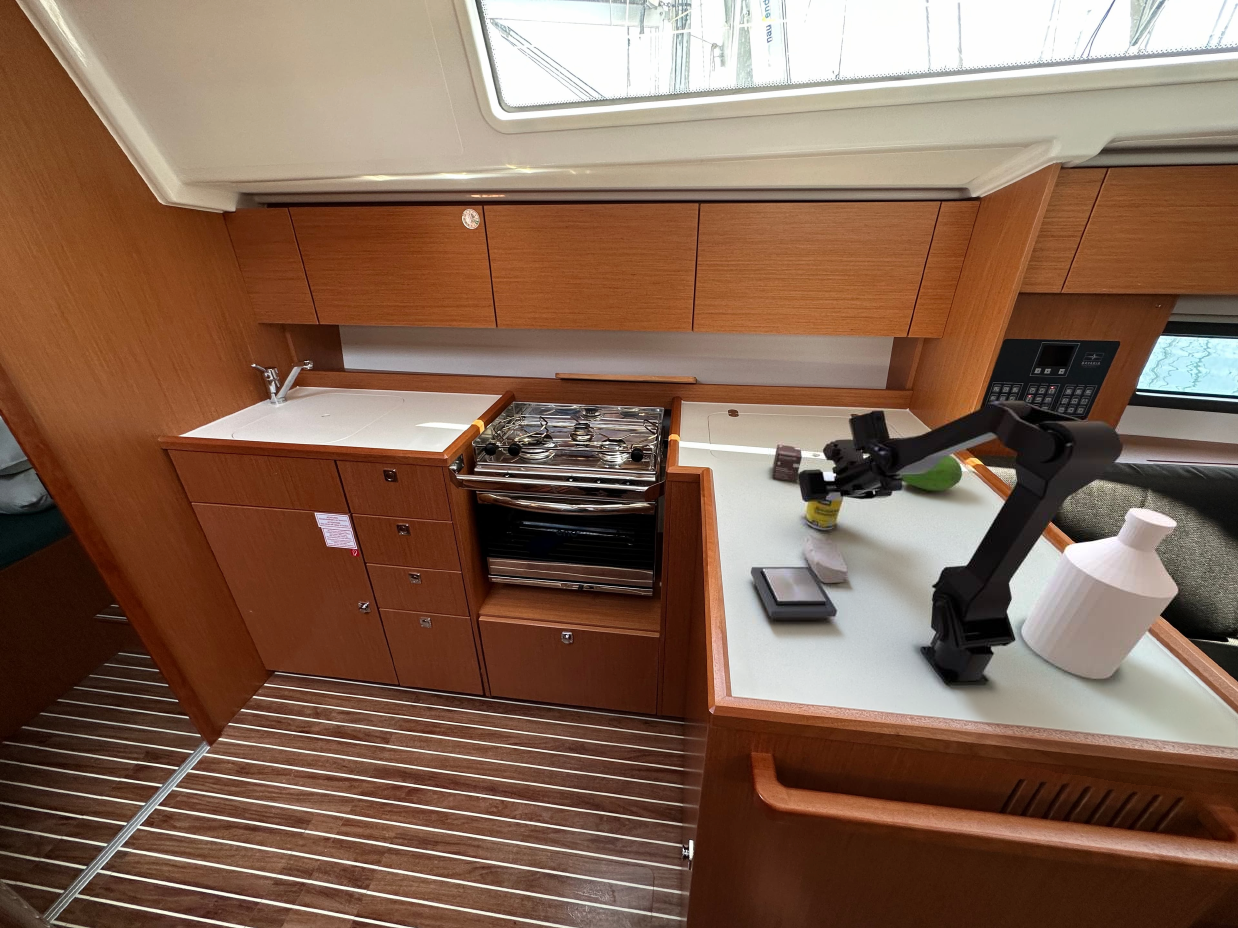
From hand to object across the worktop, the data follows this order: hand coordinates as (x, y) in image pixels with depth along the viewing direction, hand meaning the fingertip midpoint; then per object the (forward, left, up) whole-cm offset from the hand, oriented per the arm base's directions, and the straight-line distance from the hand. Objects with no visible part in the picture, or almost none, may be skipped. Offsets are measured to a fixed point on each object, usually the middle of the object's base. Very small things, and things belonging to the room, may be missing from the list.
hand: (822, 494), depth 103 cm
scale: (-25, +16, -7) cm, 31 cm away
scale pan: (-25, +16, -4) cm, 30 cm away
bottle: (-36, -25, -7) cm, 45 cm away
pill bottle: (-1, 0, -7) cm, 7 cm away
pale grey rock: (-16, +6, -7) cm, 19 cm away
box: (+21, 0, -7) cm, 22 cm away
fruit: (+15, -34, -7) cm, 38 cm away
